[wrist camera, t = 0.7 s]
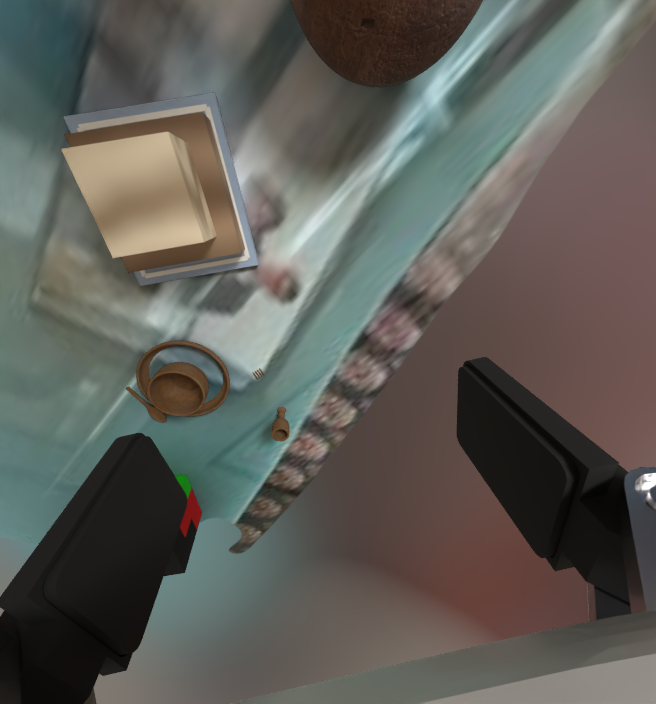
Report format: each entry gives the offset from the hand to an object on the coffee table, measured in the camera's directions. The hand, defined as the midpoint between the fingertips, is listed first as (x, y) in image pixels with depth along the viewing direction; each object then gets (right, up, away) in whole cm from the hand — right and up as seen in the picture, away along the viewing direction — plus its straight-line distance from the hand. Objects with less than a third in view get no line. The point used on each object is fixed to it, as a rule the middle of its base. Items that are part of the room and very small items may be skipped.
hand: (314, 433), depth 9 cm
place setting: (-17, -4, +35) cm, 39 cm away
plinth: (-16, +19, +22) cm, 33 cm away
